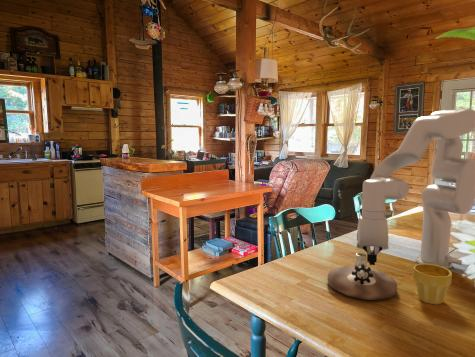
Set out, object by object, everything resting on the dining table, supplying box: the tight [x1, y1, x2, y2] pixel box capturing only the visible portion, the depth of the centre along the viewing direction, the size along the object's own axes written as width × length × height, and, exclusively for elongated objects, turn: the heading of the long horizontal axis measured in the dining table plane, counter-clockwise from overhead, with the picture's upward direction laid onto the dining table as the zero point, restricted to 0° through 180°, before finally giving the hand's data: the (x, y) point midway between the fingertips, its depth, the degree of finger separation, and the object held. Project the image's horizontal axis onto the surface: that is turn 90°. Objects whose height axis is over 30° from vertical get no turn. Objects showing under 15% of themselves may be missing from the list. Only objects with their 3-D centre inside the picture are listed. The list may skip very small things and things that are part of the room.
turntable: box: [327, 265, 398, 301], centre depth 112 cm, size 22×22×7 cm
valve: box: [352, 252, 373, 284], centre depth 114 cm, size 7×7×12 cm
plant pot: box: [412, 263, 453, 305], centre depth 104 cm, size 10×10×10 cm
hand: (371, 263), depth 120 cm, fingers closed
